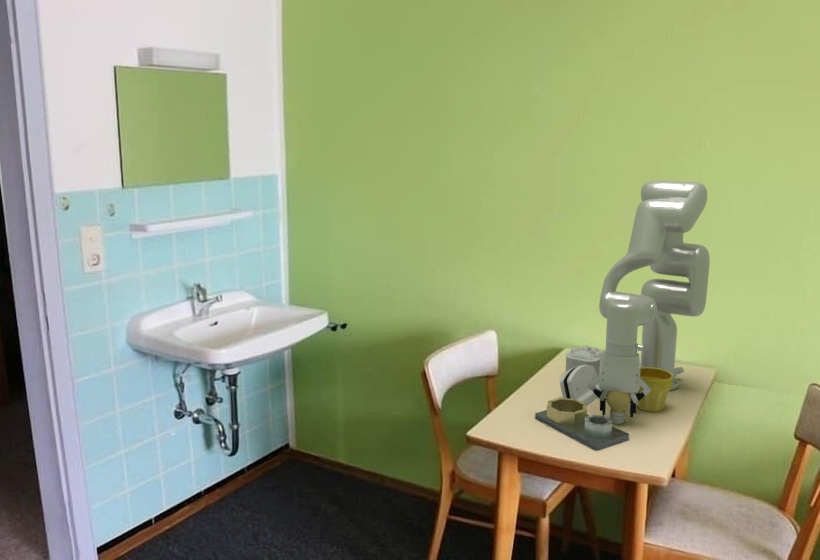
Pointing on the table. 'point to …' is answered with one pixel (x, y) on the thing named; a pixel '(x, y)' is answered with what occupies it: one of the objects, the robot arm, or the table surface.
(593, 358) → the lumpy-topped squat cylinder
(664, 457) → the table surface
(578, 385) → the white rounded block
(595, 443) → the fitting plate
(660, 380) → the plant pot
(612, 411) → the light bulb
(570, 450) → the table surface
